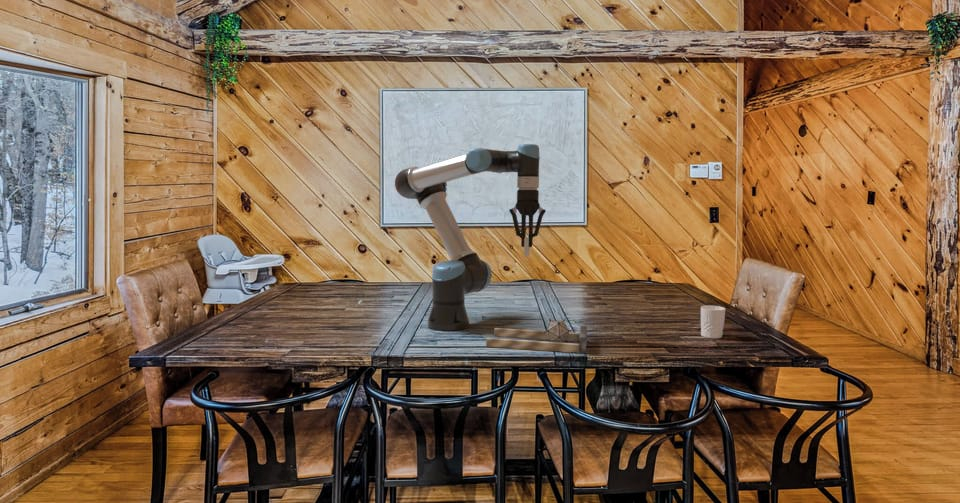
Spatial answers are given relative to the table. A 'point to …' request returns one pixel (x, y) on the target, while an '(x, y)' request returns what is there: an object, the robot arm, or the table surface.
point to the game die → (557, 331)
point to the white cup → (712, 321)
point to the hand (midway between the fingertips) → (526, 256)
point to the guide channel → (537, 344)
